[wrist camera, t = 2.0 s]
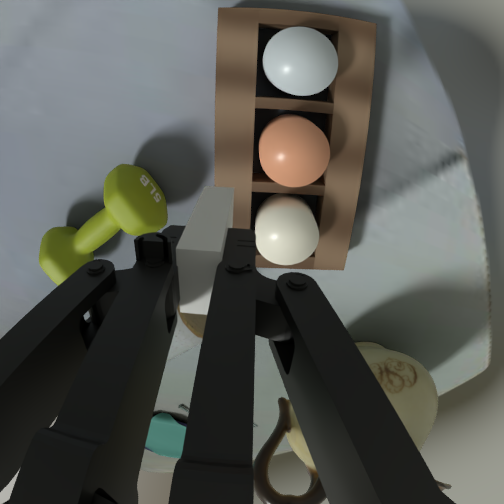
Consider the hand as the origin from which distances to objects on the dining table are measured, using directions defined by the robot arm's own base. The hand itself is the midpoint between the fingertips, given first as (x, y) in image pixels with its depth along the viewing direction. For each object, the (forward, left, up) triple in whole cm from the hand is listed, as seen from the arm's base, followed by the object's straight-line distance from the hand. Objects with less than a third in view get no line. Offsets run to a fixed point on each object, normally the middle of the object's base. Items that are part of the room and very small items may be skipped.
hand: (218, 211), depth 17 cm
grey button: (-9, +5, -15) cm, 18 cm away
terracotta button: (-1, +5, -15) cm, 16 cm away
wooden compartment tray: (-1, +5, -17) cm, 18 cm away
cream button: (+7, +5, -15) cm, 18 cm away
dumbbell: (+8, -15, -17) cm, 24 cm away
